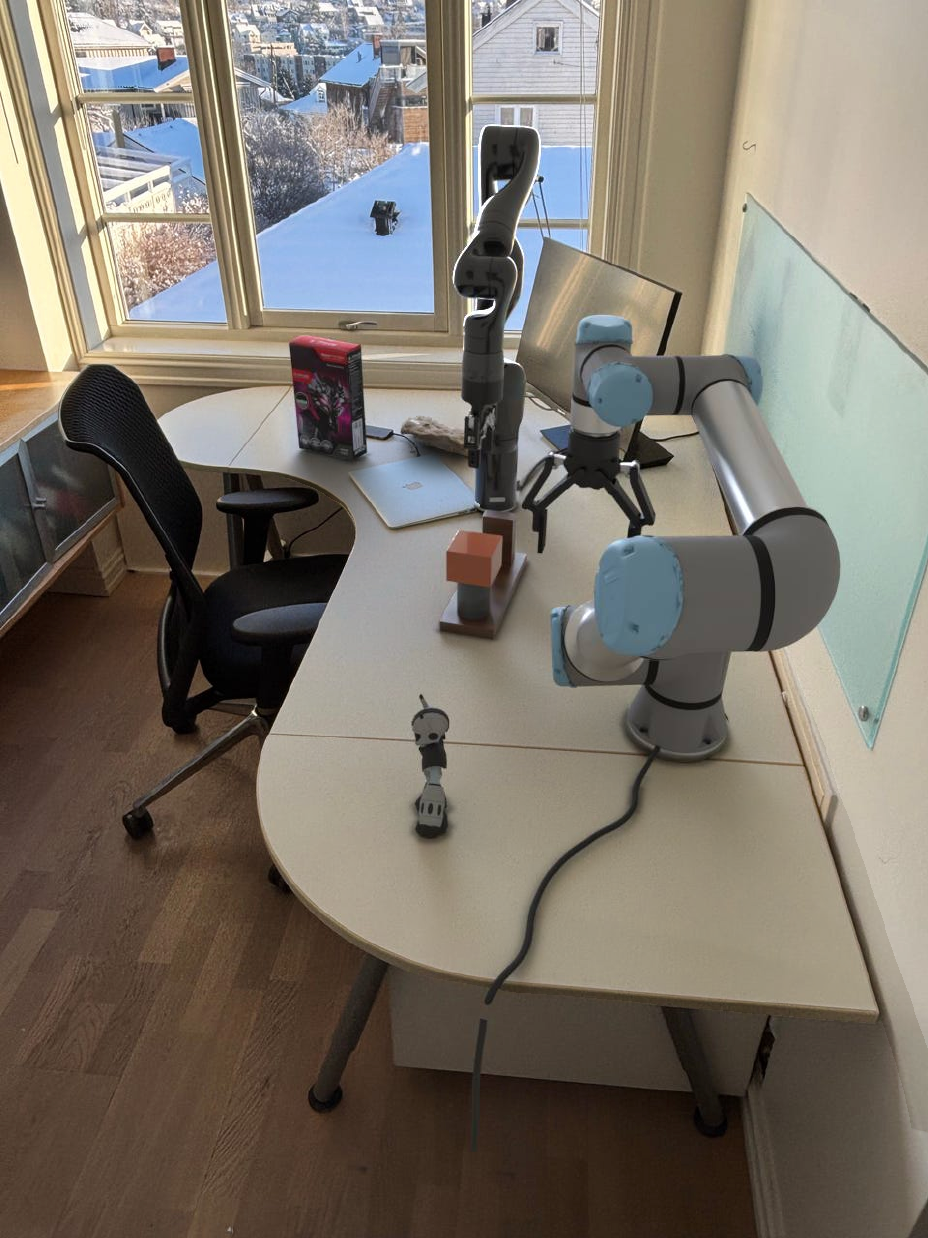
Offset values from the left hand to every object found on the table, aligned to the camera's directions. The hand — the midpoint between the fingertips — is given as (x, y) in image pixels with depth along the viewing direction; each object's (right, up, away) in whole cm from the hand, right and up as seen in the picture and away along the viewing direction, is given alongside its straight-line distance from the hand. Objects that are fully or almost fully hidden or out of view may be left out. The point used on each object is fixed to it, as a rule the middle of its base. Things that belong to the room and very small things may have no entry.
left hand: (480, 458), depth 172 cm
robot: (-7, -58, -45) cm, 73 cm away
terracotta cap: (-1, -22, -10) cm, 24 cm away
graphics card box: (-36, +12, +58) cm, 69 cm away
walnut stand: (+1, -25, +3) cm, 26 cm away
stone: (-10, +14, +61) cm, 64 cm away
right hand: (+16, -20, -28) cm, 38 cm away
